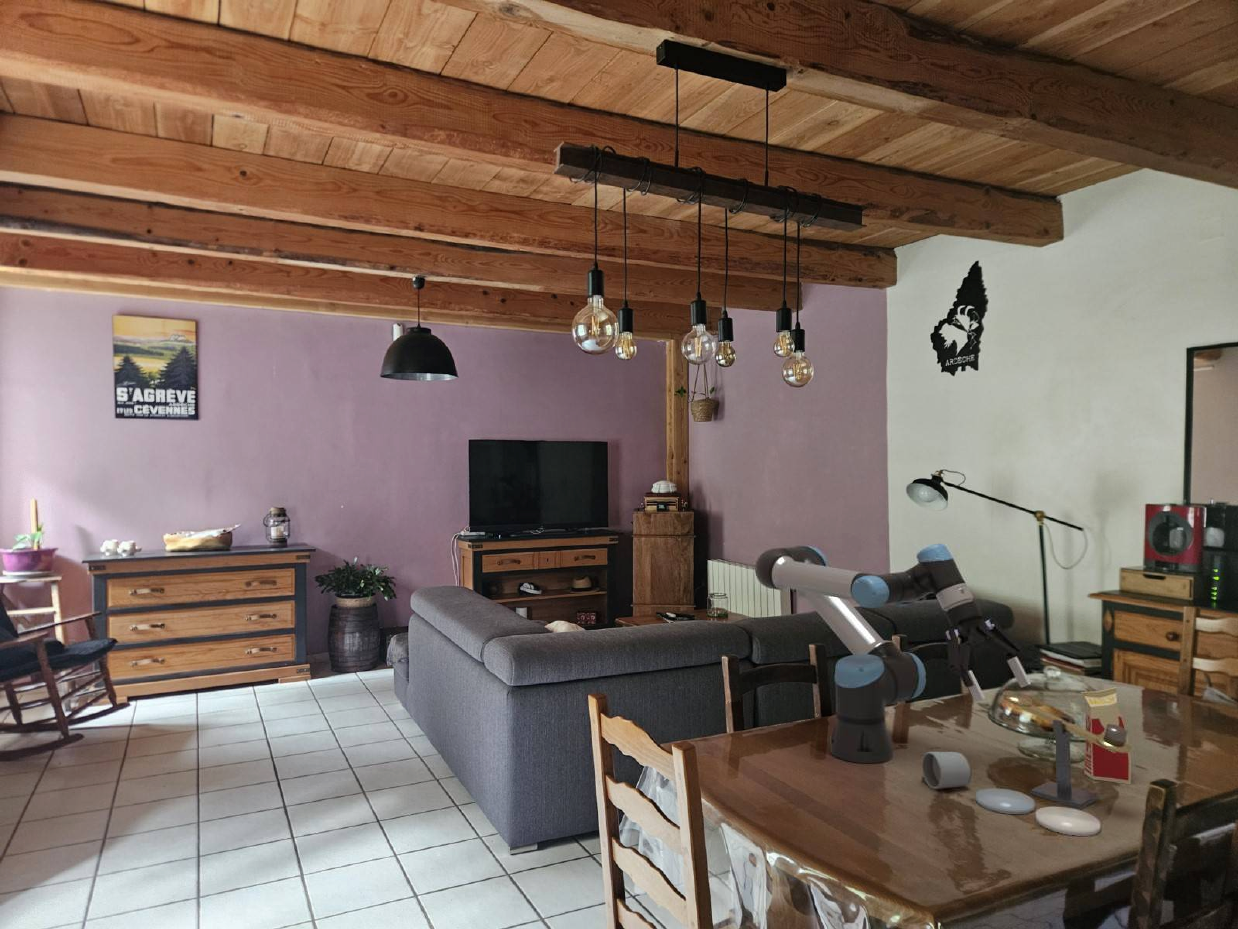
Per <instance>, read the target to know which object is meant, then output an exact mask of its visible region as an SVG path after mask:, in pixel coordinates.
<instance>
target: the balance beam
mask: <svg viewBox="0 0 1238 929" xmlns="http://www.w3.org/2000/svg"><path fill="white" fill-rule="evenodd" d="M1002 698H1003V699H1004V700H1006V701H1007V702H1009V704H1012V705H1013V706H1016V707H1018V708H1019V709H1022V710H1025V711H1026V712H1029V713H1030V714H1032V715H1034V716H1037V717H1039V718H1041V719H1043V720H1045V721H1047V722H1049V723H1051V724H1053V720H1054V719H1055V720H1060V721H1062V728H1063V729H1066V730H1068V731H1070V732H1069V733H1072V734H1074V735H1076V736H1078V737H1080V738H1082V739H1085V741H1086V740H1088V741H1090V742H1093V743H1095V744H1097V745H1099V746H1101V747H1103V748H1105V749H1107V750H1109V751H1111V752H1113V753H1116V752H1119V753H1129V752H1130V751H1131V745H1128V744H1129V743H1128V744H1127V743H1126V742H1125V739H1126V736H1127V737H1128V731H1127V729H1126V730H1125V729H1124V728H1122V727H1120V726H1117V725H1113V724H1108V725H1107V727H1106V730H1105V734H1100V735H1095V734H1093V733H1091V732H1088V731H1086V729H1084V728H1082V727H1080V726H1078V725H1076V724H1074V723H1072V722H1071V723H1069V722H1067V721H1065V720H1063V719H1062V717H1058V716H1056V715H1054V714H1053V713H1050V712H1048V711H1046V710H1044V709H1042V708H1040V707H1037V706H1036V705H1034V704H1033V700H1032V698H1031V697H1029V696H1028V695H1026V694H1024V693H1022V692H1018V691H1014V690H1004V691H1003V692H1002ZM1130 753H1131V752H1130Z"/></svg>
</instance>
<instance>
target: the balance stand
mask: <svg viewBox="0 0 1238 929" xmlns="http://www.w3.org/2000/svg"><path fill="white" fill-rule="evenodd" d="M1061 719H1063V720H1065V721H1067V722H1069V723H1072V721H1071V720H1072V718H1071V717H1070V716H1065V715H1062V716H1061ZM1052 726H1053V728H1052V731H1053V733H1052V734H1053V735H1054V736H1055V737H1054V738H1055V740H1054V741H1055V764H1056V765H1055V766H1056V782H1055V781H1050V780H1049V781H1045V783H1042V784H1040V785H1037V786H1036V787H1034V788H1032V789H1031V790H1030V792H1031V793H1030V795H1031V794H1033V795H1032V796H1035V795H1036V796H1035V797H1038V798H1041V797H1043V798H1042V799H1045V800H1048V799H1049V801H1050V802H1051V801H1052V802H1055V801H1056V802H1055V803H1059V804H1061V805H1065V804H1067V805H1066V806H1068V805H1069V806H1068V807H1071V806H1072V807H1071V808H1074V809H1078V808H1080V809H1079V810H1082V809H1084V808H1085V807H1087V805H1088V806H1090V805H1091V804H1093V803H1095V802H1096V801H1099V794H1097V793H1095V792H1090V791H1087V790H1083V789H1080V788H1077V787H1073V786H1072V768H1071V767H1072V766H1071V763H1072V762H1071V740H1070V739H1071V738H1070V737H1071V734H1070V733H1071V732H1070V731H1068V730H1066V729H1063V728H1062V721H1060V720H1055V719H1054V720H1053V723H1052ZM1094 801H1095V802H1094Z"/></svg>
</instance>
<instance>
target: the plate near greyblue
mask: <svg viewBox="0 0 1238 929" xmlns="http://www.w3.org/2000/svg"><path fill="white" fill-rule="evenodd" d="M975 801H977V802H976V804H977V805H979V804H980V805H981V806H980V805H979V806H980V807H982V808H983V809H985V808H986V809H985V810H988V811H991V812H994V811H996V812H995V813H997V812H999V813H998V814H1002V813H1005V814H1004V815H1010V814H1023V815H1028V814H1031V813H1032V812H1031V811H1033V810H1034V811H1035V809H1036V808H1035V807H1036V806H1035V800H1034V799H1033V798H1032V797H1031V796H1029V795H1027V794H1024V793H1023V792H1020V791H1015V790H1011V789H1006V788H985V789H980V790H978V791H977V792H976V794H975ZM1034 808H1035V809H1034ZM1034 811H1033V812H1034ZM1030 812H1031V813H1030ZM1027 813H1028V814H1027Z"/></svg>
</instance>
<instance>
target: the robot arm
mask: <svg viewBox="0 0 1238 929" xmlns="http://www.w3.org/2000/svg"><path fill="white" fill-rule="evenodd" d="M916 558H917V562H918V563H917V564H915V565H914V566H912V567H910V568H908V569H907V570H905V571H901V572H900V571H898V572H892V573H891V572H889V573H884V574H873V573H868V572H862V571H856V570H850V569H843V568H838V567H831V566H829V565H828V560H827V557H826V556H825V554H824V553H823V552H822V551H821V550H820V549H818V548H816V547H814V546H812V545H811V546H810V545H797V546H790V547H778V548H777V547H776V548H775V547H774V548H770V549H766V551H765V550H764V551H763V552H762V553H761V554H760V555H759V557H757V560H756V562H755V565H754V573H755V576H756V579H757V580H758V582H759V583H760V584H761V585H762V586H764V587H765V588H767V589H770V590H771V589H772V590H777V591H781V592H784V591H785V592H786V591H789V590H790V589H791V591H792V592H793V593H794V595H796V597H797V598H798V599H801V600H807V602H808V603H809V604H810V605H811V606H812V608H814V610H815V611H816V612H817V613H818V614H819V616H821V619H823V621H824V622H825V623H826V624H827V625H828V626H829V628H830V629H831V630H832V631H833V632H834V634H836V636H837V638H839V639H840V641H841V642H842V643H843V644H844V646H846V648H848V651H849V652H851V654H852V655H848V656H847V655H846V656H844V657H842V658H840V659H839V660H838V661H837V662H836V664H835V669H834V670H835V671H834V672H835V673H834V682H835V683H834V688H835V712H836V713H835V714H836V715H835V716H836V719H835V723H834V724H835V725H834V727H833V730H832V732H831V733H832V735H831V737H830V740H829V752H830V753H832V755H833V757H835V758H838V759H840V760H844V761H847V762H852V763H859V764H860V763H861V764H876V763H882V762H883V763H884V762H888V761H889V760H891V759H892V758H894V746H893V743H892V741H891V737H890V734H889V731H888V727H887V724H886V716H885V715H886V714H885V713H886V711H885V707H886V706H891V705H894V704H898V703H902V702H909V701H911V700H912V699H914V698H917V697H918V696H920V695H921V693H923V692H924V689H925V686H926V684H927V679H926V678H927V677H926V675H927V673H926V669H925V667H924V666H925V665H924V664H923V662H922V661H921V659H920V658H919V657H918V656H917V655H915V654H914V653H911V652H906V651H903V652H902V650H901V649H899V647H898V646H897V645H896V644H895V643H894V642H893V641H892V640H884V639H883V637H881V636H880V635H879V633H877V631H876V630H875V629H874V628H873V627H872V626H871V625H870V624H869V623H868V622H867V621H866V619H865V618H864V617H863V616H862V615H861V613H860V612H859V611H858V610H857V609H856V608H855V607H854V606H853V604H852V603H850V601H851V602H855V603H856V604H858V605H859V606H860V607H862V608H867V609H868V608H871V609H872V608H873V609H874V608H880V607H883V606H890V605H894V606H897V607H899V608H903V607H906V606H908V605H912V604H915V602H917V601H918V600H920V599H922V598H923V597H926V596H927V595H929V594H932V593H934V595H935V596H936V599H937V600H938V601H937V602H939V605H940V606H941V609H942V611H945V614H944V615H945V617H946V619H947V621H948V623H949V625H950V626H951V627H952V628H950V629H948V630H947V631H945V632H944V634H943V635H944V637H945V640H946V645H947V646H946V648H947V659H948V660H947V661H948V671H949V673H950V674H954V675H955V676H960V678H961V680H962V683H963V686H965V688H968V690H969V692H970V694H971V696H972V698H973V700H974V703H977V702H979V701H982V700H984V699H986V697H985V695H984V693H983V691H982V689H981V686H980V685H979V682H978V680H977V678H976V677H975V675H974V673H973V671H972V670H968V669H969V662H970V657H971V656H970V655H971V649H972V646H974V645H976V644H977V645H979V644H981V643H983V644H987V645H988V646H990V647H991V648H993V649H994V650H996V651H997V652H999V653H1000V654H1002V655H1003V656H1005V657H1007V658H1008V659H1007V660H1006V661H1007V664H1008V665H1009V668H1010V669H1011V671H1012V673H1013V675H1014V677H1015V679H1016V681H1017V683H1018V685H1019V687H1020V688H1024V687H1027V686H1030V685H1031V680H1030V679H1029V677H1028V675H1027V673H1026V671H1025V666H1024V664H1023V662H1022V660H1021V658H1020V656H1021V654H1022V653H1023V652H1024V647H1023V646H1021V645H1020V644H1019V643H1018V642H1017V641H1016V640H1015V639H1014V638H1013V637H1012V636H1011V635H1010V634H1008V633H1007V631H1005V629H1003V628H1002V627H1001V626H1000V624H999V623H998V622H997V619H996V618H994V617H991V618H989V619H988V620H985V621H984V619H983V617H982V615H983V614H982V611H981V610H980V607H979V606H978V604H977V602H976V601H974V600H973V599H974V596H973V595H972V593H971V590H970V589H969V587H968V585H967V583H966V581H965V579H964V578H963V576H962V574H961V572H960V569H959V567H958V565H957V564H956V562H955V558H954V556H952V554H951V553H950V551H949V548H948V547H947V546H946V545H945V544H943V543H935V544H932V545H929V546H927V547H924V548H923V549H921V550H919V552H917V553H916ZM958 638H959V639H960V640H958Z"/></svg>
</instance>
